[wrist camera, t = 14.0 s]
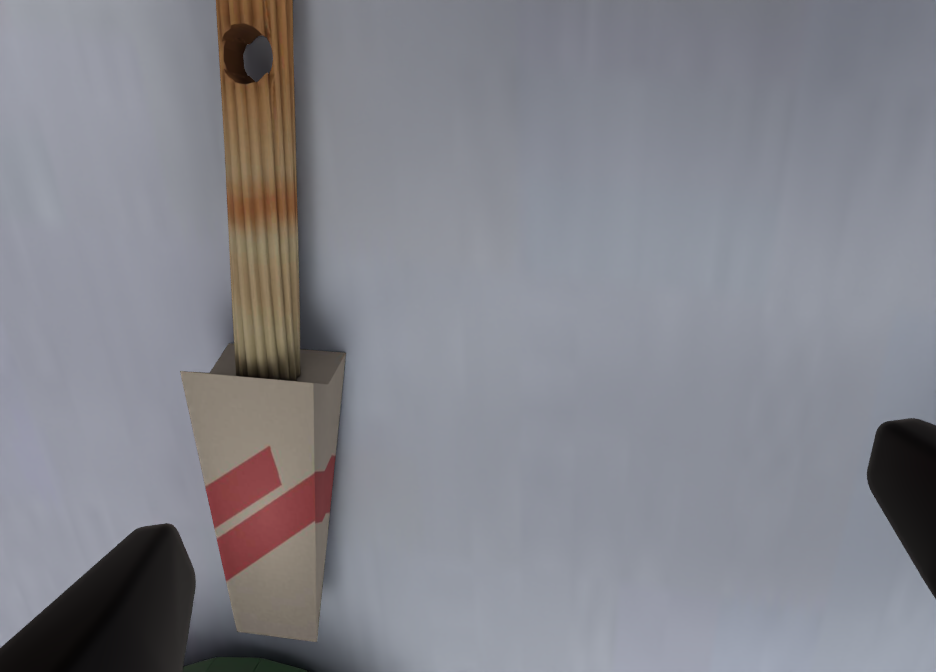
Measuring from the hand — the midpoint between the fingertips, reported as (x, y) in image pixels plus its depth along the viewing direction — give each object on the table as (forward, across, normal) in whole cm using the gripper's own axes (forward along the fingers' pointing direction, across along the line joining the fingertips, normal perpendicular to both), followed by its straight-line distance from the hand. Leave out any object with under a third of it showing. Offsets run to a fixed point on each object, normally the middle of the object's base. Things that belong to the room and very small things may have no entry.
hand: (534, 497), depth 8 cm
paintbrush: (+12, +6, +3) cm, 14 cm away
